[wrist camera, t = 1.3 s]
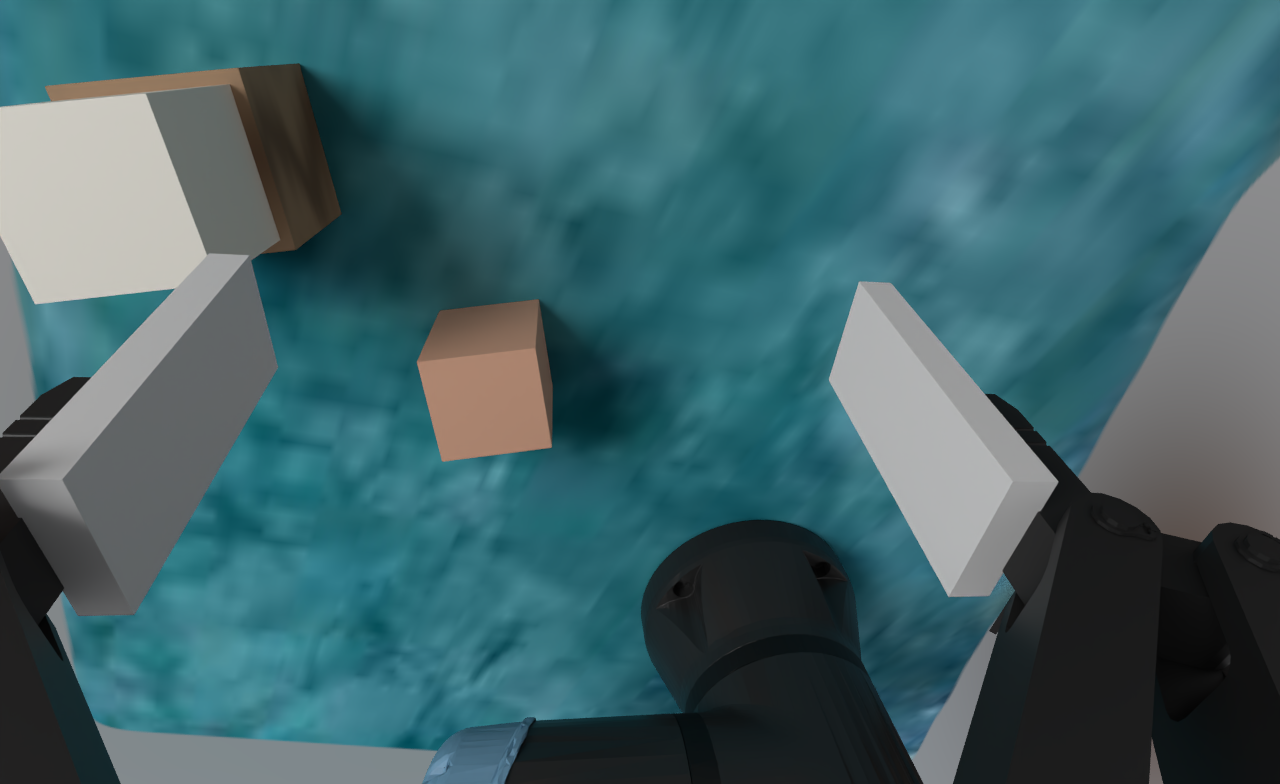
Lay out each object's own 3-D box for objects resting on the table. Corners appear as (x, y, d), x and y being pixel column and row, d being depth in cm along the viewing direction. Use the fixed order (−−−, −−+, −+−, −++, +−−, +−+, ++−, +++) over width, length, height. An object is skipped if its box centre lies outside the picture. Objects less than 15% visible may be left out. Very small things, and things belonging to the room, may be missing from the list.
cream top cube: (280, 239, 29) (217, 283, 24) (132, 256, 29) (35, 304, 23) (229, 83, 26) (145, 93, 21) (65, 99, 26) (-63, 113, 20)
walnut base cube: (341, 213, 35) (295, 249, 29) (201, 229, 35) (125, 268, 29) (299, 63, 32) (237, 67, 26) (144, 78, 32) (44, 86, 26)
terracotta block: (552, 386, 41) (551, 447, 35) (459, 397, 41) (442, 461, 34) (538, 298, 39) (535, 348, 32) (439, 310, 38) (416, 362, 32)
